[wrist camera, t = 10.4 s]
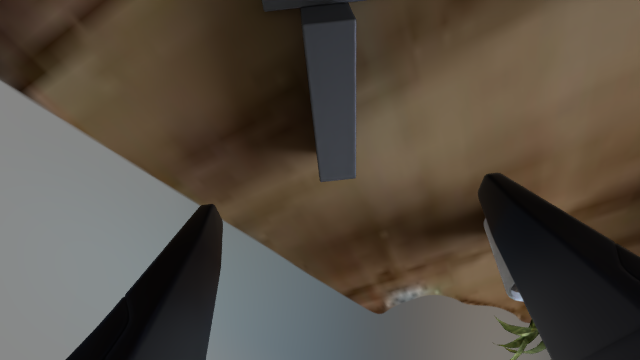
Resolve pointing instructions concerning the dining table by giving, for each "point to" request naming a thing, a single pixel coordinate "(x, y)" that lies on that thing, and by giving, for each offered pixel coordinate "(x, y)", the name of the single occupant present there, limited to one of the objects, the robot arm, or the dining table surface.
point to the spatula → (329, 80)
